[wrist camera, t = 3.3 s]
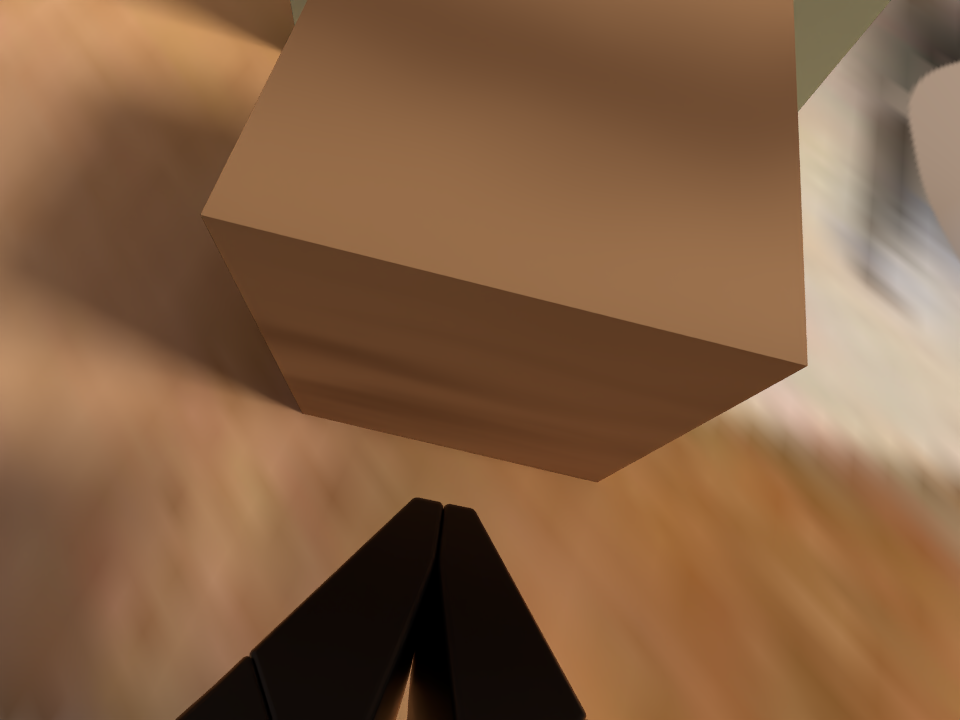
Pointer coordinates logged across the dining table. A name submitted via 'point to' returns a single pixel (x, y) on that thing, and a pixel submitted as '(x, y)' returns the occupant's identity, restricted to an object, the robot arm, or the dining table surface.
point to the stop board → (806, 36)
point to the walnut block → (524, 220)
